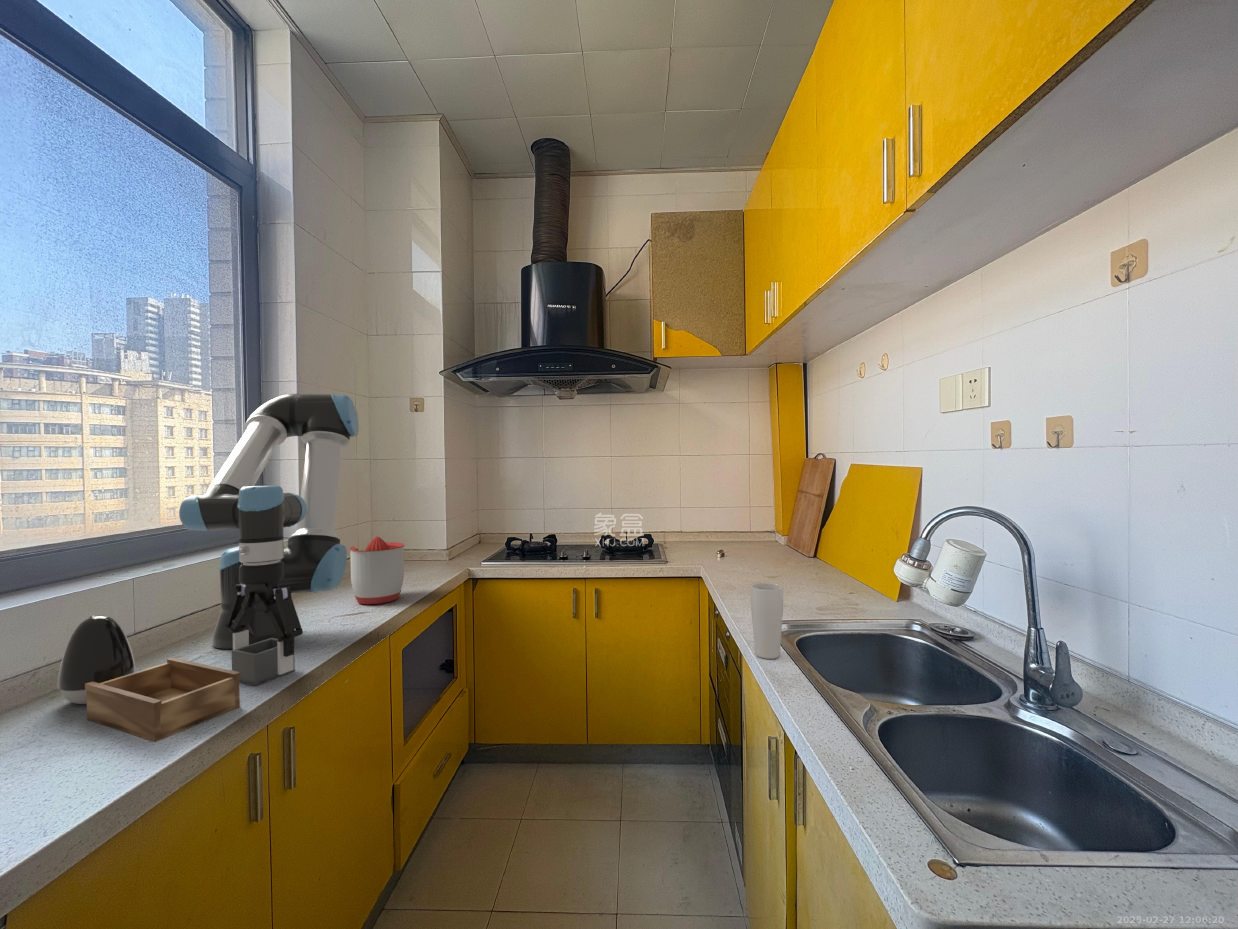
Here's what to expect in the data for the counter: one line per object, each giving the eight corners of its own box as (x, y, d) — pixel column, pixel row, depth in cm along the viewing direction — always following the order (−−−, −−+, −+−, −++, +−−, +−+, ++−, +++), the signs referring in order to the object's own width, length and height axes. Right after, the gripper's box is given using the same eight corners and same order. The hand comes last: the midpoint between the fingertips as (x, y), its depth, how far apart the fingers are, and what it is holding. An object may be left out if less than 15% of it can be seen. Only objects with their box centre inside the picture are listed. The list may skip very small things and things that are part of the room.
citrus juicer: (377, 591, 176) (376, 531, 176) (416, 596, 169) (415, 534, 169) (334, 603, 162) (333, 538, 162) (375, 609, 155) (374, 541, 154)
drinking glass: (774, 664, 110) (774, 591, 110) (745, 656, 114) (744, 586, 114) (789, 655, 115) (788, 585, 115) (760, 647, 119) (759, 581, 119)
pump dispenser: (130, 681, 105) (128, 605, 105) (140, 695, 99) (138, 614, 99) (55, 700, 97) (53, 617, 97) (61, 716, 91) (59, 628, 91)
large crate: (173, 689, 101) (173, 657, 101) (241, 706, 94) (240, 672, 94) (85, 719, 90) (84, 683, 90) (154, 742, 82) (153, 703, 82)
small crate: (272, 666, 112) (271, 637, 112) (294, 670, 110) (294, 641, 110) (232, 680, 105) (231, 650, 105) (255, 686, 102) (254, 655, 102)
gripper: (203, 562, 108) (203, 666, 108) (285, 568, 99) (286, 683, 98) (241, 556, 115) (242, 654, 115) (322, 562, 106) (323, 669, 105)
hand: (262, 667), depth 107 cm, fingers open, 13 cm apart
